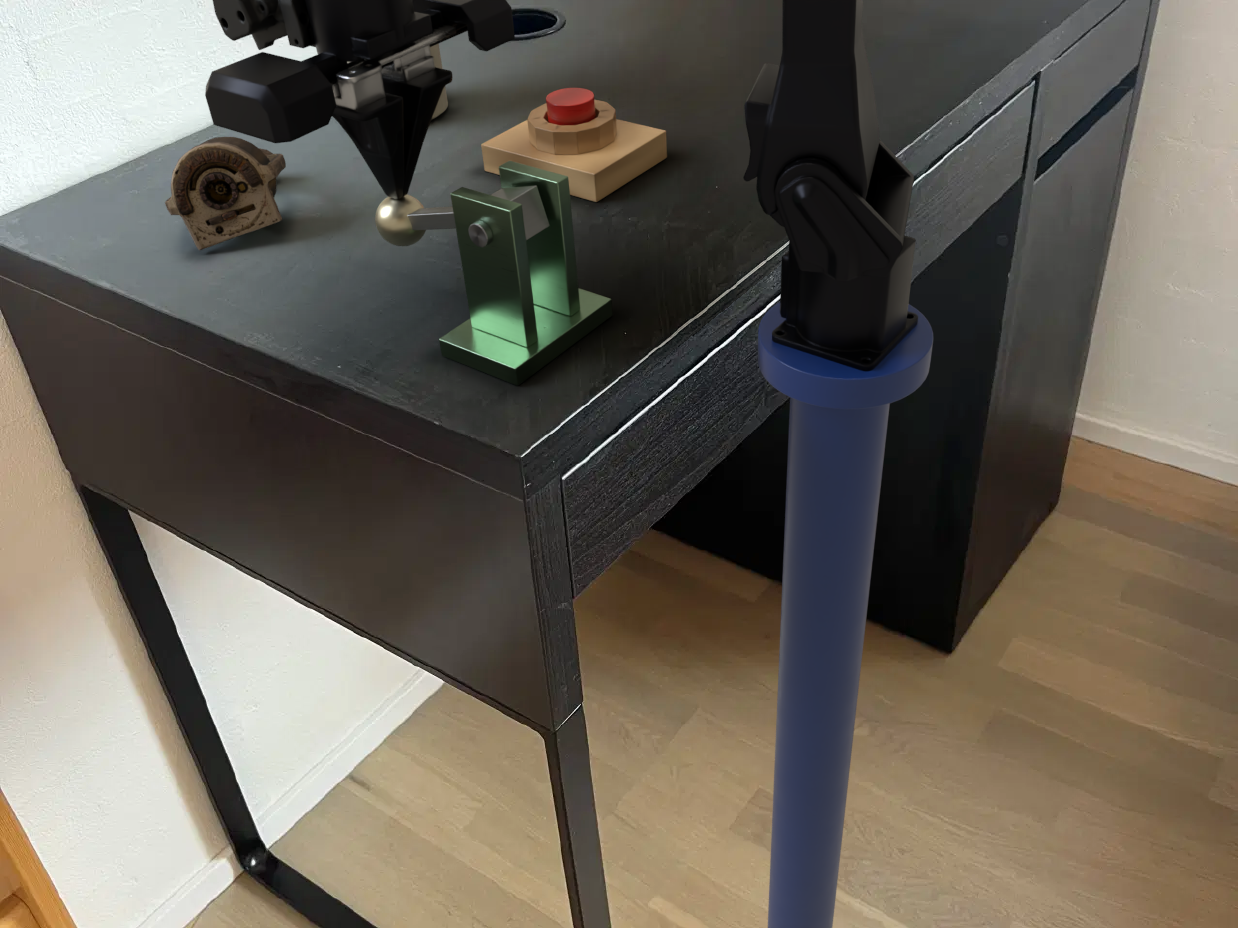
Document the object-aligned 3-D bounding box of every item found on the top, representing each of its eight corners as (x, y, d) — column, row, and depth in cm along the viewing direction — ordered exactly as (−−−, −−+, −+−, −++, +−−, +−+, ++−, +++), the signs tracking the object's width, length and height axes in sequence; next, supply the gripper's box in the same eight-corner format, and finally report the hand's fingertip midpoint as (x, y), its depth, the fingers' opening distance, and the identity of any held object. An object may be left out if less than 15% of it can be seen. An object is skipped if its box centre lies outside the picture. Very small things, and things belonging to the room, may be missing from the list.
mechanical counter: (103, 184, 77) (226, 157, 74) (186, 96, 86) (298, 69, 83) (161, 271, 82) (279, 250, 79) (234, 179, 91) (342, 156, 88)
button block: (667, 157, 88) (665, 107, 86) (596, 202, 83) (592, 150, 80) (557, 130, 94) (552, 82, 91) (484, 171, 88) (477, 121, 86)
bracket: (441, 356, 68) (413, 204, 62) (538, 290, 73) (521, 145, 67) (517, 386, 65) (496, 229, 59) (612, 315, 70) (601, 165, 64)
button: (605, 115, 86) (603, 92, 85) (575, 132, 84) (573, 109, 83) (568, 106, 88) (566, 84, 87) (538, 123, 86) (535, 100, 85)
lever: (376, 255, 71) (357, 206, 70) (412, 234, 73) (394, 187, 72) (521, 252, 63) (502, 197, 62) (557, 228, 65) (540, 175, 63)
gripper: (367, -129, 70) (411, 119, 79) (101, -52, 58) (190, 226, 68) (504, -113, 64) (533, 151, 74) (239, -25, 53) (314, 273, 62)
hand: (397, 196), depth 70 cm, fingers closed
